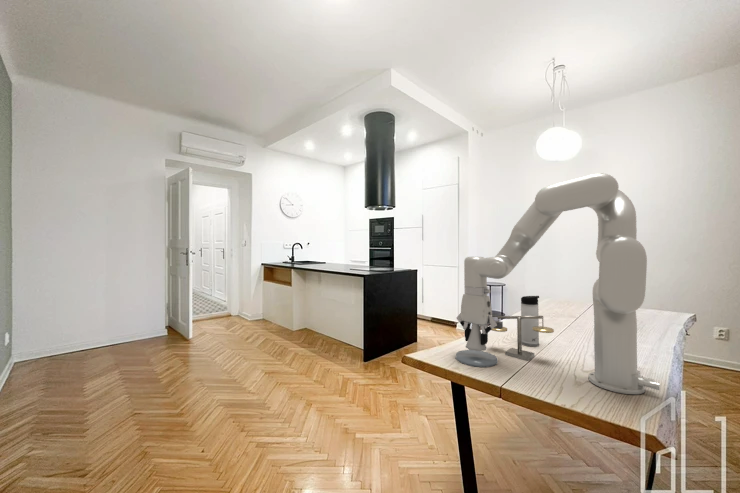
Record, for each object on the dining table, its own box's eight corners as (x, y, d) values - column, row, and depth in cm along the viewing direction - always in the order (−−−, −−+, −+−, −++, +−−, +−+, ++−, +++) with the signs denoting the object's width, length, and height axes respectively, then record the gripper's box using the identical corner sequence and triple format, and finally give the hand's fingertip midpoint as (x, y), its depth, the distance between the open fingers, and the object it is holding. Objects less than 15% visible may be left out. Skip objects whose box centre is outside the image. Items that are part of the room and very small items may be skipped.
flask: (483, 345, 109) (483, 317, 109) (489, 352, 102) (489, 322, 102) (463, 344, 110) (463, 317, 110) (467, 351, 102) (467, 322, 102)
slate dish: (504, 359, 105) (504, 356, 105) (485, 370, 96) (485, 367, 96) (468, 349, 116) (468, 347, 116) (448, 359, 106) (448, 356, 106)
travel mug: (538, 348, 117) (537, 297, 117) (520, 345, 121) (519, 295, 121) (540, 343, 122) (540, 295, 122) (523, 341, 126) (522, 293, 126)
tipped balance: (556, 361, 103) (556, 315, 103) (550, 366, 99) (549, 318, 99) (494, 346, 119) (493, 306, 119) (486, 350, 115) (486, 309, 115)
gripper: (504, 292, 102) (504, 345, 102) (459, 288, 115) (460, 335, 115) (494, 295, 97) (494, 350, 97) (448, 289, 110) (449, 339, 110)
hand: (475, 341), depth 106 cm, fingers closed on flask, 5 cm apart
